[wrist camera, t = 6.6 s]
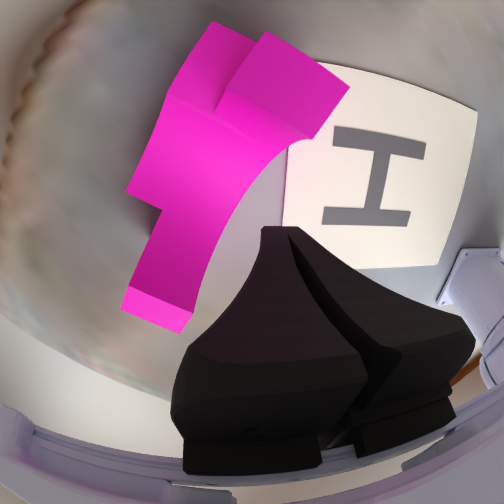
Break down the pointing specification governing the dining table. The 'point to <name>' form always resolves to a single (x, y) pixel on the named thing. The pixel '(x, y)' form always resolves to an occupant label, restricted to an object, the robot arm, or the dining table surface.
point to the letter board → (381, 173)
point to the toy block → (217, 155)
